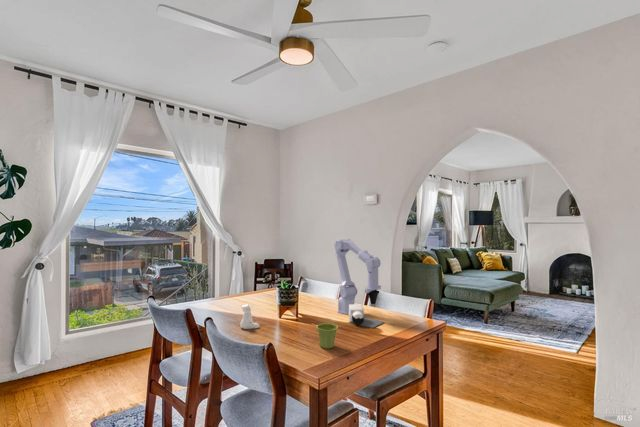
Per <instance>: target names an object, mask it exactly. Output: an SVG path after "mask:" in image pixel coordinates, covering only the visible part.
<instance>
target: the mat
mask: <svg viewBox="0 0 640 427" xmlns="http://www.w3.org/2000/svg"><path fill="white" fill-rule="evenodd" d="M348 324H352V325H355V324H354V323H353V322H350V321H348ZM384 324H385V321H383V320H377V319H374V318H373V319H372V318H368V317H364V321H363V323H362V324H360V325H359V326H362V327H366V328H371V329H375V328H377V327H379V326H380V325H384Z"/></svg>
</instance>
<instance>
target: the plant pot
mask: <svg viewBox="0 0 640 427" xmlns="http://www.w3.org/2000/svg"><path fill="white" fill-rule="evenodd" d="M338 328H339V326H338V325H336V324H334V323H320V324H317V325H316V329H317V332H318V339H319V340H318V342H319V346H320V348H322V349H332V348H334V347H335V340H336V334H337V330H338Z"/></svg>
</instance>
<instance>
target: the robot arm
mask: <svg viewBox="0 0 640 427" xmlns="http://www.w3.org/2000/svg"><path fill="white" fill-rule="evenodd" d="M334 249H335V256H336V257H335V258H336V261H337V267H338V270H339V274H340V279H341V283H340V285H339V295H340V296H339V299H338V301H337V302H338V304H337V313H339V314H345V315H349V304H356V303H355V302H356V301H355V298H356V296H357V294H358V288H357V287H356V284H355V282H354V281H352V279H351V275H350V270H349V267H348V261H347V258H346V255H347V253H348V252H350V251H352V252H353V253H354V254H356V255H358V256H357V257H358V259H360V261H362V262H363V263H364V264H365V267H366V269H367V287H366V288H365V289H364V293H365V294H367V296H368V297H369V298H368V299H369V301H370V304H371V305H376V303H377V299H378V296H379V293H380V290H381V289H382V286H381V285H380V284H379V268H380V266H381V264H382V263H381V260H380V258H379V257H377V256H376V257H375V256H374V255H372V254H370V253H369V252H368V250H362V249H361V248H360V247H359V246H357V244H356V243H354V240H352V239H351V238H347V239H345V238H344V239H337V240H335V242H334Z"/></svg>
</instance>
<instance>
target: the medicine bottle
mask: <svg viewBox="0 0 640 427" xmlns="http://www.w3.org/2000/svg"><path fill="white" fill-rule="evenodd" d="M364 311H365V310H364V307H363V304H360V303H359V304H358V303H357V304H356V303H355V304H349V314H348V318H349V322H353V323H354V324H353V325H358V326H361V325H360V324H362V323H363V321H364V318H365V317H364V316H365V315H364Z"/></svg>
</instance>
